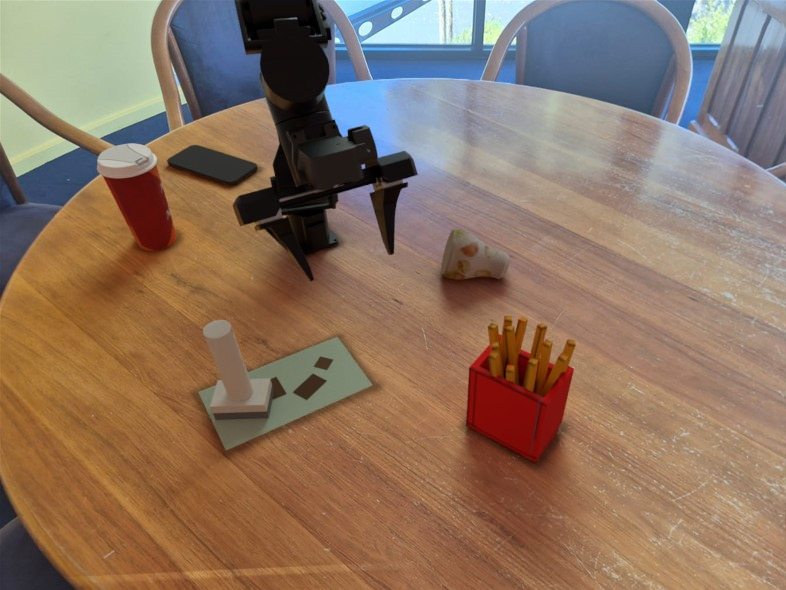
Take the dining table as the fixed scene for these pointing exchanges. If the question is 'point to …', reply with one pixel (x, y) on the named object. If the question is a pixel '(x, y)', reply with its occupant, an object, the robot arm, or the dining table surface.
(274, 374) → the mat
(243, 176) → the phone
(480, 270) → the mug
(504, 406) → the french fries container
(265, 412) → the white peg on base
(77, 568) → the dining table surface
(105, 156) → the paper cup
